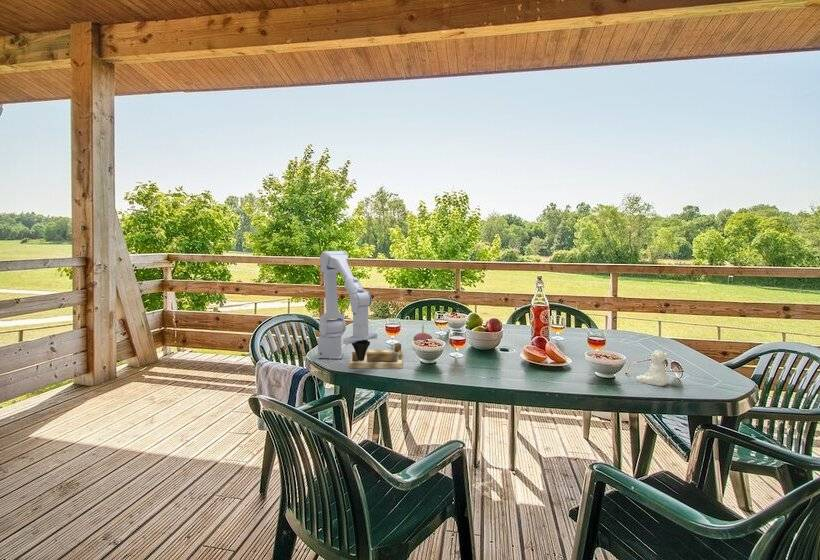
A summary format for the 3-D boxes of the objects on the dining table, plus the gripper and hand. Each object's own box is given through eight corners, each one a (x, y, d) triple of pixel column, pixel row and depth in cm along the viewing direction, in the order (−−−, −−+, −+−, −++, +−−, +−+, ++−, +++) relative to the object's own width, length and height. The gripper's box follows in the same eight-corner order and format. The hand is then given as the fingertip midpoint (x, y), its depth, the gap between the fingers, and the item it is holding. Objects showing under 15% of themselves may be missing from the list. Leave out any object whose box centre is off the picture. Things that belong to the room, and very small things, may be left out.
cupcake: (432, 351, 189) (432, 324, 188) (413, 351, 189) (413, 324, 188) (431, 346, 198) (432, 320, 197) (413, 346, 198) (413, 320, 197)
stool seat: (349, 368, 163) (349, 355, 163) (355, 354, 183) (355, 342, 183) (402, 368, 164) (402, 355, 163) (402, 354, 183) (402, 342, 183)
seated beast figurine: (653, 377, 155) (655, 345, 154) (676, 385, 147) (678, 351, 146) (634, 381, 152) (636, 347, 150) (657, 389, 144) (659, 353, 143)
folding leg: (366, 360, 165) (366, 353, 165) (367, 359, 167) (367, 352, 167) (397, 361, 165) (397, 353, 165) (397, 359, 168) (397, 352, 167)
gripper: (351, 328, 151) (351, 366, 153) (382, 323, 162) (382, 358, 163) (339, 325, 156) (340, 362, 158) (370, 320, 167) (370, 355, 168)
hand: (360, 360), depth 161 cm, fingers closed
